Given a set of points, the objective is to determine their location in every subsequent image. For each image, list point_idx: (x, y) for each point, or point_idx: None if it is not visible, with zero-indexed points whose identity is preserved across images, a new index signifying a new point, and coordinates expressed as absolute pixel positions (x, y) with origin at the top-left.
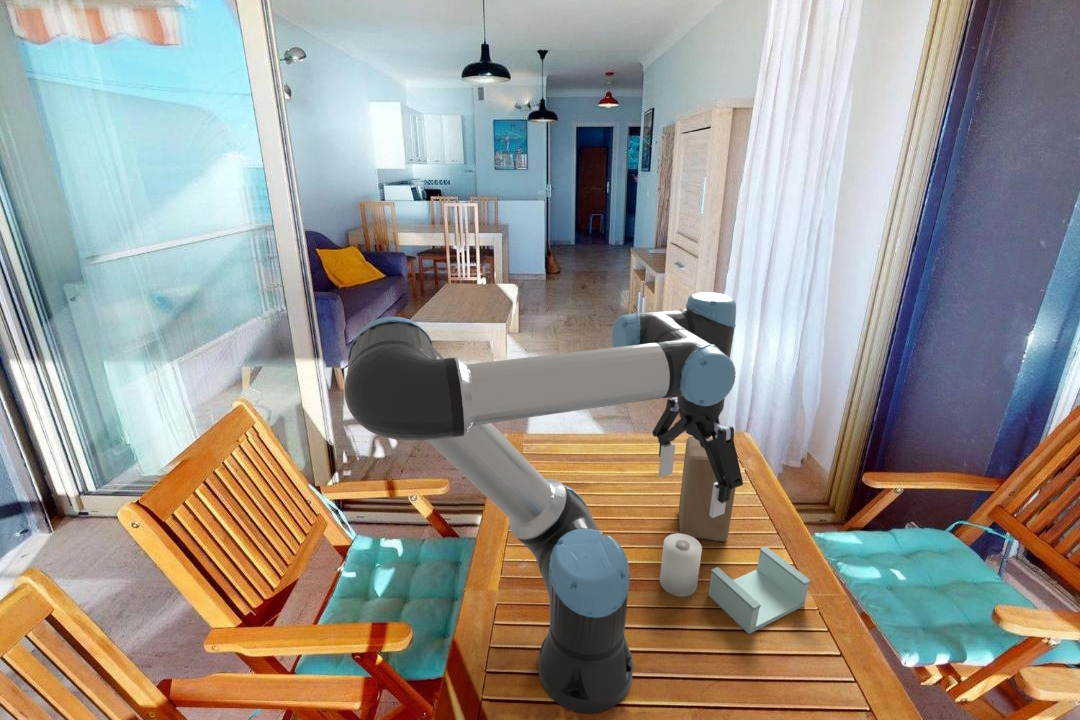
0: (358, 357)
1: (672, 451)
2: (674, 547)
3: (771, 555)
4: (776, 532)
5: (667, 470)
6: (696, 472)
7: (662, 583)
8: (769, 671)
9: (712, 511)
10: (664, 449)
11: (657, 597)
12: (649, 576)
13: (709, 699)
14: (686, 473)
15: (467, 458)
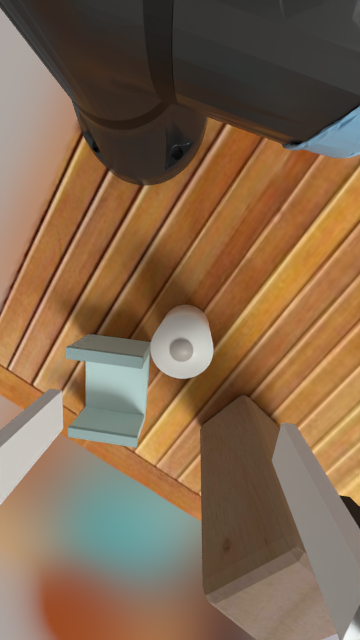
0: None
1: (319, 569)
2: (186, 335)
3: (120, 438)
4: (178, 480)
5: (283, 459)
6: (265, 509)
7: (192, 306)
8: (46, 312)
9: (37, 401)
10: (354, 567)
11: (182, 287)
12: (215, 305)
13: (47, 230)
14: None
15: None
